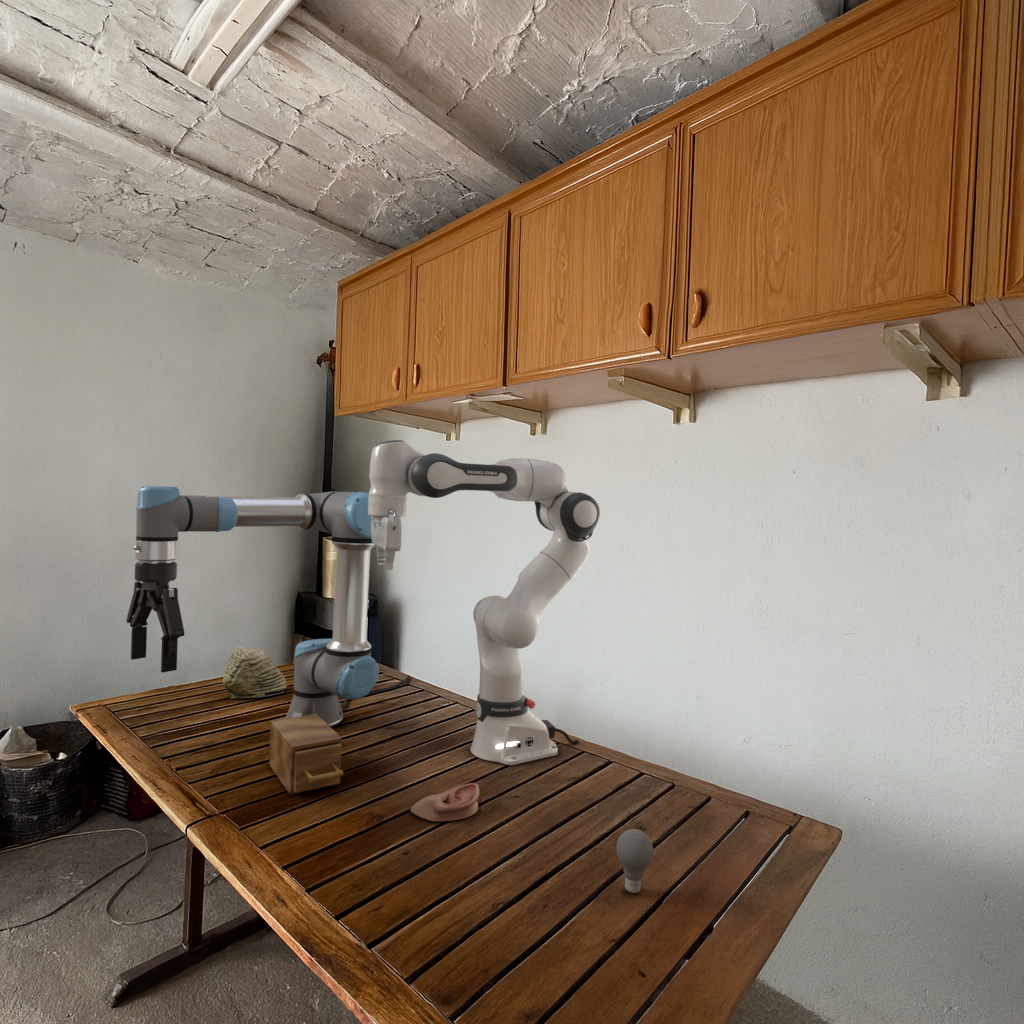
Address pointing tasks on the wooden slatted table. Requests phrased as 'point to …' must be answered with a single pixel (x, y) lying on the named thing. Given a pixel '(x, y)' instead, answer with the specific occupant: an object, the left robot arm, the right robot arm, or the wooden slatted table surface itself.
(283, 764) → the cabinet
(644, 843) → the light bulb
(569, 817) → the wooden slatted table surface
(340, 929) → the wooden slatted table surface
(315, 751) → the drawer
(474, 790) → the anatomical model
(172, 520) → the left robot arm
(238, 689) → the fossil
